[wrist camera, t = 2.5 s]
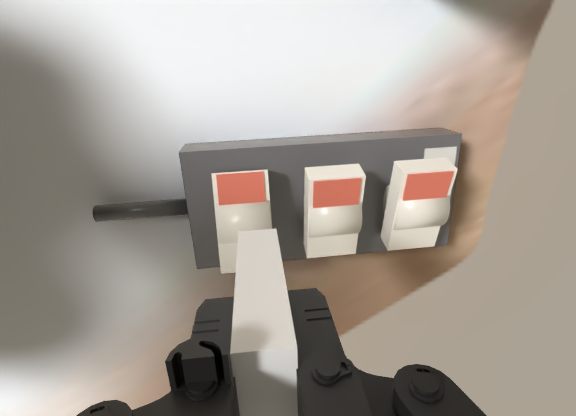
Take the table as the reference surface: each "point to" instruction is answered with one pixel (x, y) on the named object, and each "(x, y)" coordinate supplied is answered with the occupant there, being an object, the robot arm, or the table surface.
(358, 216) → the rocker
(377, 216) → the rocker switch panel
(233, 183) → the rocker
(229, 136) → the table surface
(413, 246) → the rocker
